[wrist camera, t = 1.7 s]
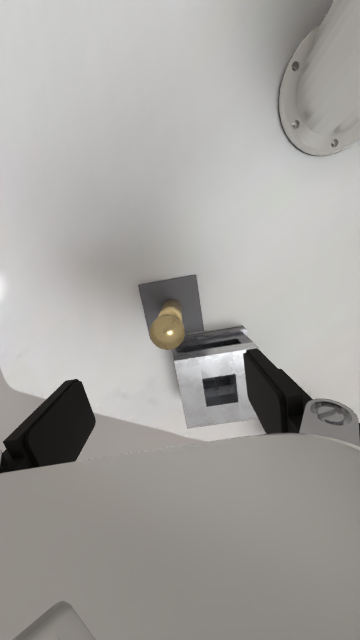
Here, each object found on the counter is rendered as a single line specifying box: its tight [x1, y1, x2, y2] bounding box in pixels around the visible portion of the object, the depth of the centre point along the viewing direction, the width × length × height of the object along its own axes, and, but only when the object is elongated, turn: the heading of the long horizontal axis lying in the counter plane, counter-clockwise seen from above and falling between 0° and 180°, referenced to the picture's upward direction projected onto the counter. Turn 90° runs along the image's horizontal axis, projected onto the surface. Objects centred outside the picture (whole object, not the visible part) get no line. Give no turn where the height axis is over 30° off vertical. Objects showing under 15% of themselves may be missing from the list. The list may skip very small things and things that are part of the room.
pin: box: [150, 299, 185, 350], centre depth 24 cm, size 3×3×12 cm
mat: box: [138, 275, 204, 339], centre depth 30 cm, size 9×9×1 cm
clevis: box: [173, 326, 259, 429], centre depth 29 cm, size 12×12×8 cm
